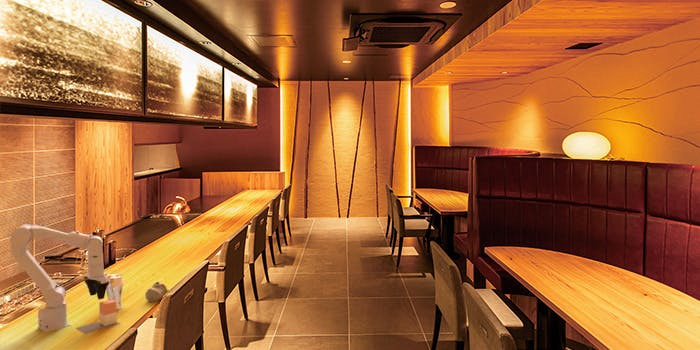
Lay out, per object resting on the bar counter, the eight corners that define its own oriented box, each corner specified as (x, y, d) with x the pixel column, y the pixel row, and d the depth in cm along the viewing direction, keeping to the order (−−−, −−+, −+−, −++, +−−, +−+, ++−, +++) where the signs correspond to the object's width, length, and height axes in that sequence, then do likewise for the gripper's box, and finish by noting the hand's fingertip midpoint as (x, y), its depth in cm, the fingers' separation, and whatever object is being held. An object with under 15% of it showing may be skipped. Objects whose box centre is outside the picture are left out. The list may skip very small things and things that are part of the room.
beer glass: (107, 306, 213) (106, 274, 212) (123, 304, 216) (123, 273, 215) (105, 311, 207) (104, 278, 206) (122, 309, 209) (121, 277, 208)
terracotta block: (103, 315, 189) (103, 304, 189) (99, 313, 192) (99, 302, 191) (116, 312, 193) (116, 301, 193) (112, 309, 196) (111, 299, 195)
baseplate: (84, 335, 182) (84, 334, 182) (75, 329, 187) (75, 328, 187) (120, 324, 192) (120, 323, 192) (111, 319, 198) (111, 318, 198)
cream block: (104, 326, 190) (104, 315, 189) (100, 323, 192) (100, 313, 192) (116, 322, 194) (116, 312, 193) (112, 320, 196) (112, 309, 196)
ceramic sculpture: (139, 284, 218) (156, 277, 233) (138, 303, 218) (155, 294, 233) (160, 286, 217) (176, 279, 232) (159, 304, 217) (175, 296, 232)
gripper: (113, 266, 193) (114, 298, 194) (98, 260, 202) (99, 291, 203) (95, 269, 187) (96, 302, 188) (80, 263, 197) (82, 295, 197)
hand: (97, 296), depth 195 cm, fingers open, 7 cm apart
